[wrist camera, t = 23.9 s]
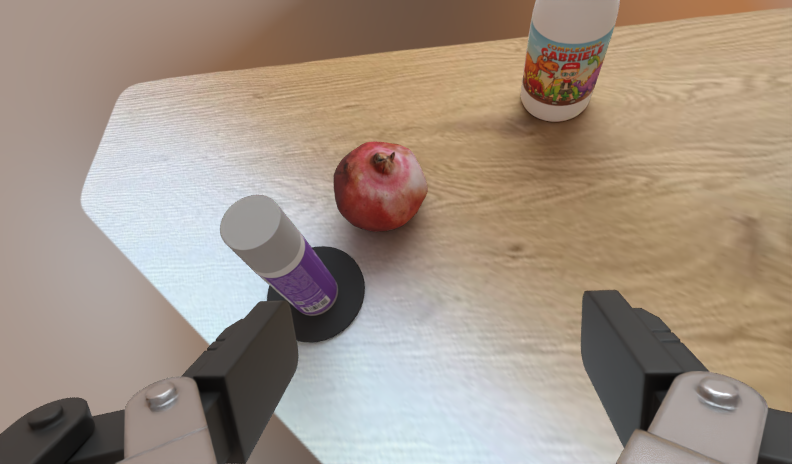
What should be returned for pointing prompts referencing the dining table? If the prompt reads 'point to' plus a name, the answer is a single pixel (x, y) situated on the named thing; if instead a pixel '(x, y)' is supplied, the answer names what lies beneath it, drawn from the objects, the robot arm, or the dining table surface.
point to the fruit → (379, 186)
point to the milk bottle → (565, 55)
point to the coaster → (344, 306)
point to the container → (278, 253)
